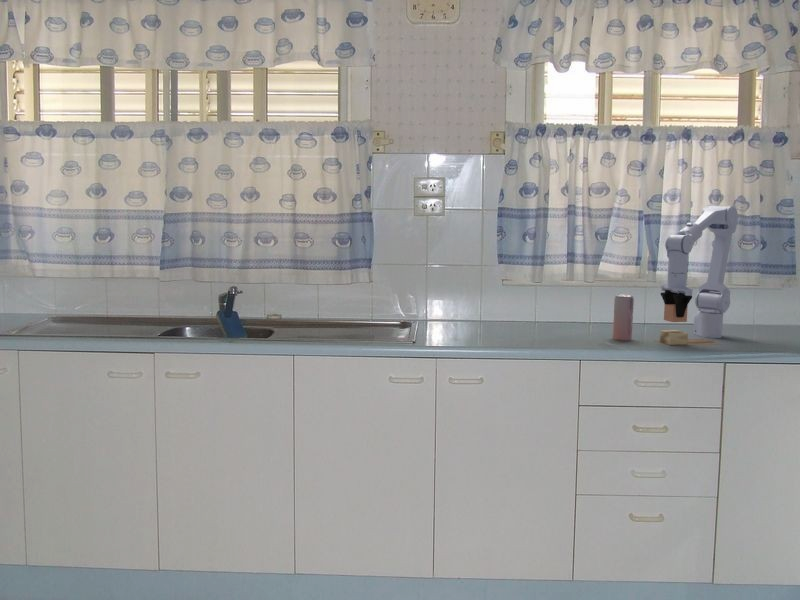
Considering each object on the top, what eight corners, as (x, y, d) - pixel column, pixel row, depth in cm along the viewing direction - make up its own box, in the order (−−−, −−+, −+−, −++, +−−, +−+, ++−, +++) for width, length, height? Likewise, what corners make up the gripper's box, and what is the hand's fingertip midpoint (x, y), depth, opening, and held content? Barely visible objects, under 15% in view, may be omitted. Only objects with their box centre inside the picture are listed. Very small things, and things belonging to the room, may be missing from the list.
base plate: (653, 342, 267) (653, 340, 267) (703, 341, 271) (703, 338, 271) (670, 348, 257) (670, 345, 257) (721, 346, 262) (721, 344, 261)
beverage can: (617, 339, 273) (619, 294, 271) (634, 341, 269) (637, 295, 267) (609, 341, 268) (611, 295, 266) (626, 343, 264) (629, 297, 263)
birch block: (659, 341, 265) (660, 330, 265) (676, 340, 267) (677, 330, 266) (670, 344, 259) (670, 333, 259) (687, 344, 261) (687, 333, 260)
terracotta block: (663, 319, 264) (664, 304, 263) (677, 319, 265) (678, 304, 265) (672, 322, 259) (673, 306, 259) (686, 321, 260) (687, 306, 260)
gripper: (653, 271, 266) (651, 312, 268) (678, 275, 252) (676, 319, 254) (673, 270, 268) (670, 312, 270) (699, 275, 254) (696, 318, 256)
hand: (675, 315), depth 262 cm, fingers closed on terracotta block, 5 cm apart
